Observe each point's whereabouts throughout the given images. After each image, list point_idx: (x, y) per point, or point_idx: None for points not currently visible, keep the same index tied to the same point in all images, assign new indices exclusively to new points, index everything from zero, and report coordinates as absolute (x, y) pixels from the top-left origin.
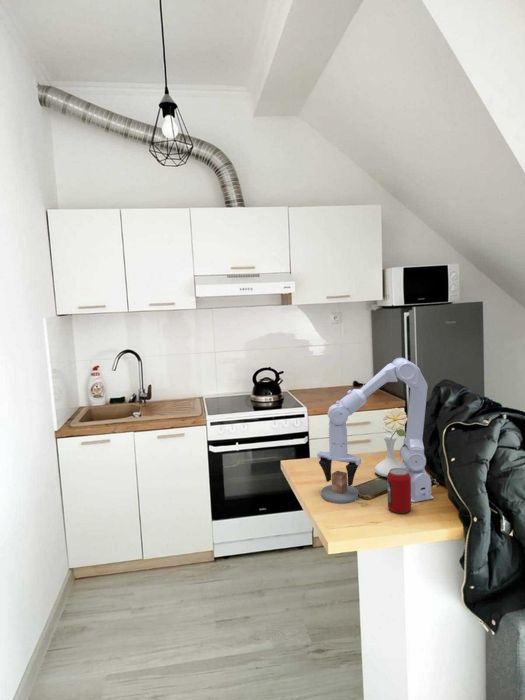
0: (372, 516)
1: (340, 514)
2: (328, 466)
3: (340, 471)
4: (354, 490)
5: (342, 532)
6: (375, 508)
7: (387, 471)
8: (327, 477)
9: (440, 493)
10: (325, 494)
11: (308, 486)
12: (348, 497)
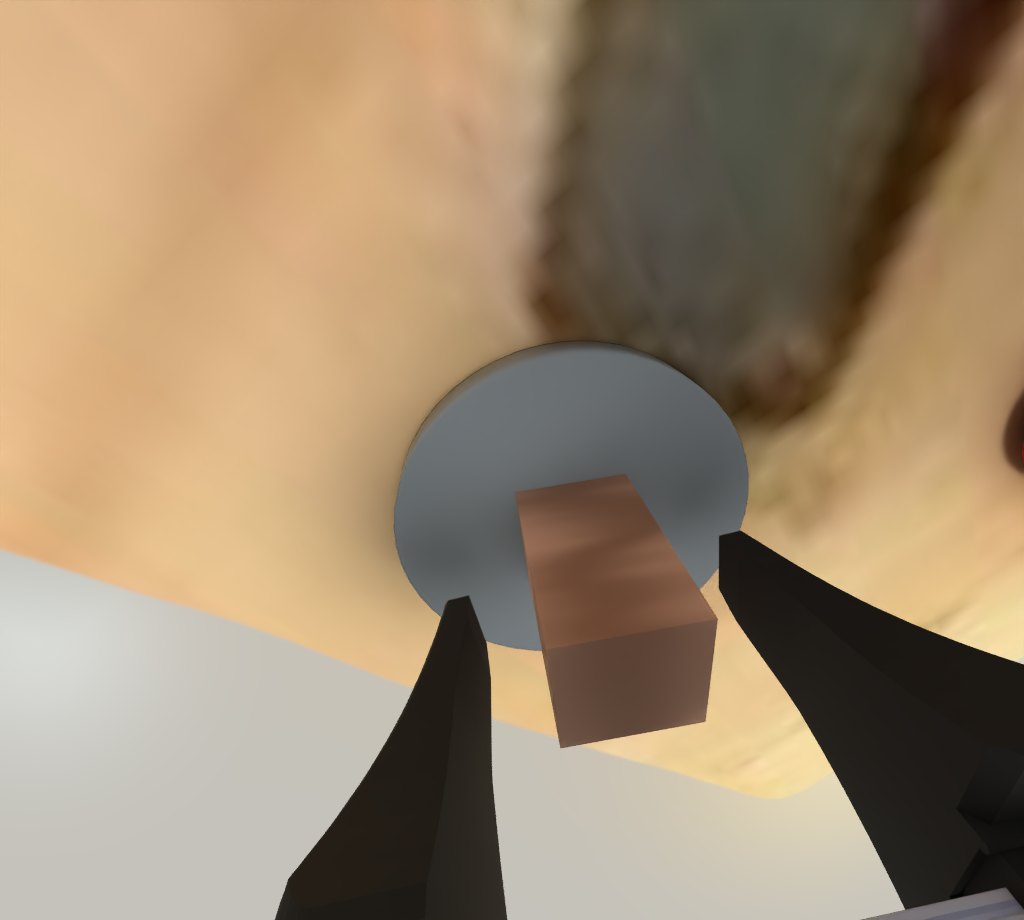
0: (905, 588)
1: (719, 675)
2: (479, 823)
3: (607, 639)
4: (685, 428)
5: (801, 758)
6: (905, 497)
7: None
8: (489, 699)
9: None
10: (517, 635)
11: (199, 538)
12: (704, 566)
